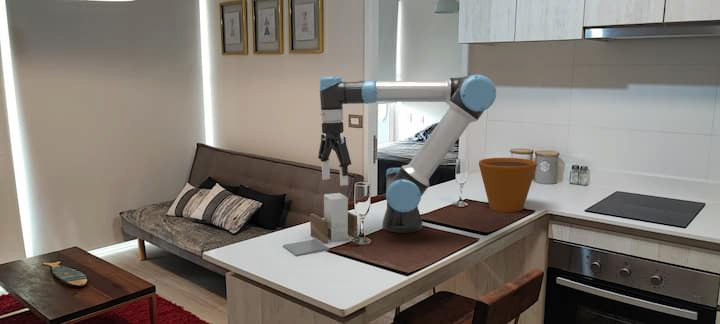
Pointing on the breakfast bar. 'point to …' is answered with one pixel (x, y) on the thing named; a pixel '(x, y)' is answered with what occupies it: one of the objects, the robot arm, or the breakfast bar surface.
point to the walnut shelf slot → (321, 230)
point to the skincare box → (336, 216)
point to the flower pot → (507, 182)
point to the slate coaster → (306, 247)
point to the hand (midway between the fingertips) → (334, 182)
